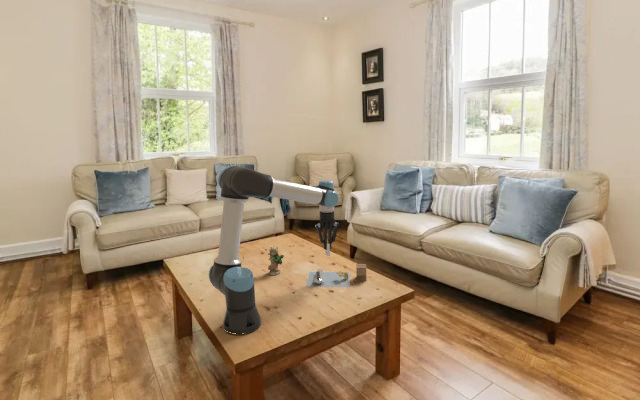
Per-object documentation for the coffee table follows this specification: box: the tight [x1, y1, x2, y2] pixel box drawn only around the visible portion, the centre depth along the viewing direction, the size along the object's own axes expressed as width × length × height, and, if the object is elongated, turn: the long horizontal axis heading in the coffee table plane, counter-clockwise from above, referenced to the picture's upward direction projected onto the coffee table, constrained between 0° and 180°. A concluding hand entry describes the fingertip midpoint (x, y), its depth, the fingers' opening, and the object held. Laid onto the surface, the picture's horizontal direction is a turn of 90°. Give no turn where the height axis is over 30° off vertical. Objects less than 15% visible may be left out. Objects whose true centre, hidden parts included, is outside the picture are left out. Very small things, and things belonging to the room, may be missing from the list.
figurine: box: [267, 246, 284, 276], centre depth 204 cm, size 9×8×15 cm
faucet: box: [314, 269, 324, 285], centre depth 194 cm, size 15×4×2 cm, turn 175°
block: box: [355, 263, 367, 282], centre depth 192 cm, size 5×5×8 cm
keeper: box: [336, 270, 348, 280], centre depth 192 cm, size 5×5×4 cm
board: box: [305, 271, 351, 288], centre depth 193 cm, size 19×22×7 cm
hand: (327, 255), depth 192 cm, fingers closed
